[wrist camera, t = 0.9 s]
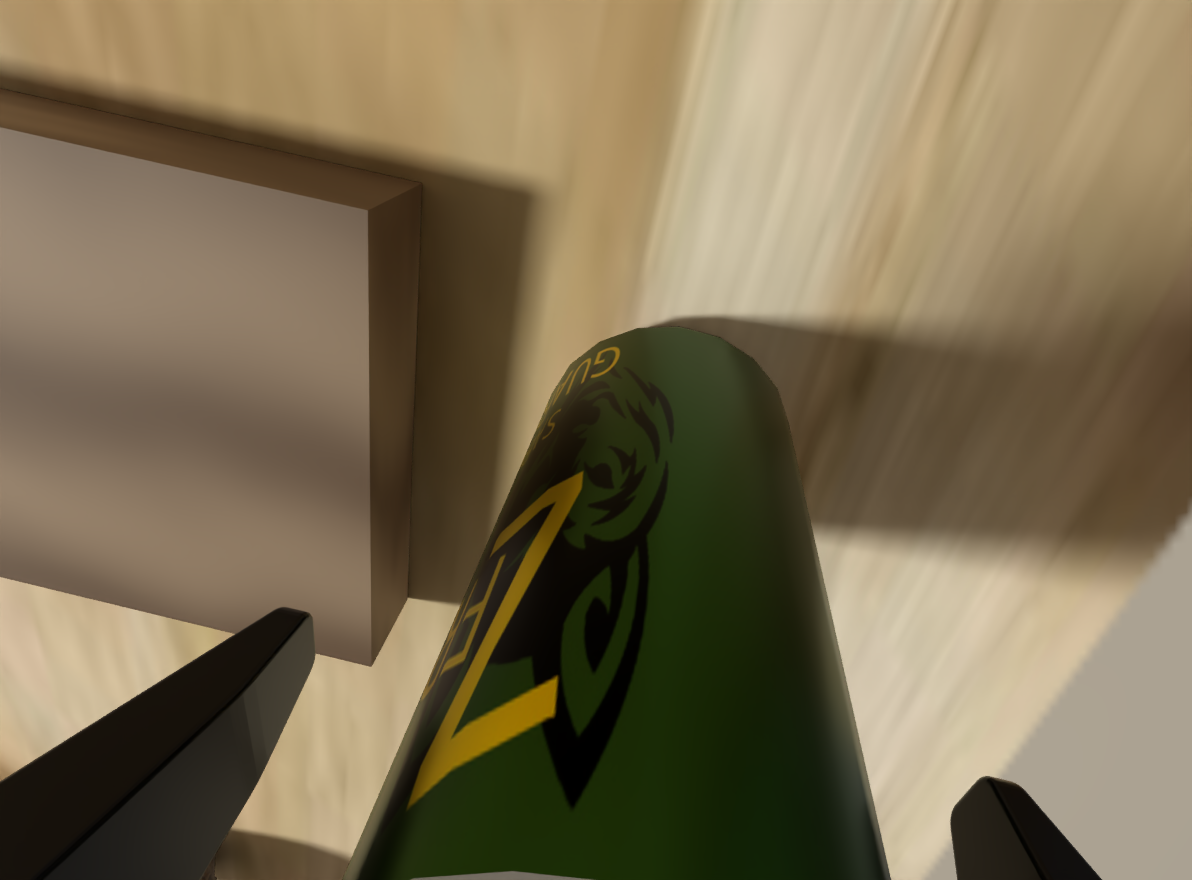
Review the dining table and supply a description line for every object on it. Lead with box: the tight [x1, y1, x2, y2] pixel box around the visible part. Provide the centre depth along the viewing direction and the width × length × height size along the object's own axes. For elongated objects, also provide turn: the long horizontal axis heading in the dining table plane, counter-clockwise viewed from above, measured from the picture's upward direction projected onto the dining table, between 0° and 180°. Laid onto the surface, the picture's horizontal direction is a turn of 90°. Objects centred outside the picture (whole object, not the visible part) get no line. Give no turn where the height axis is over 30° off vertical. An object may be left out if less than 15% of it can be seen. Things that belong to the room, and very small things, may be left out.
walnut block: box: [0, 88, 422, 667], centre depth 15 cm, size 12×12×2 cm
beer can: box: [342, 327, 891, 880], centre depth 10 cm, size 5×5×12 cm
